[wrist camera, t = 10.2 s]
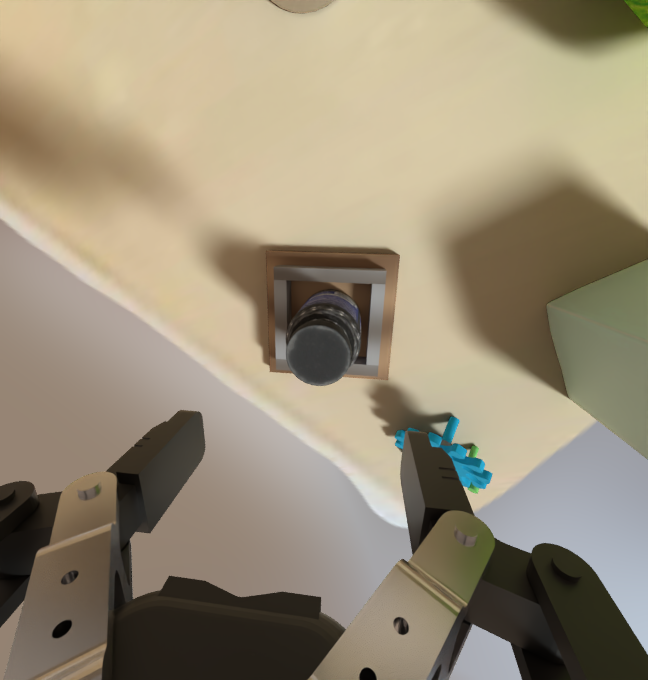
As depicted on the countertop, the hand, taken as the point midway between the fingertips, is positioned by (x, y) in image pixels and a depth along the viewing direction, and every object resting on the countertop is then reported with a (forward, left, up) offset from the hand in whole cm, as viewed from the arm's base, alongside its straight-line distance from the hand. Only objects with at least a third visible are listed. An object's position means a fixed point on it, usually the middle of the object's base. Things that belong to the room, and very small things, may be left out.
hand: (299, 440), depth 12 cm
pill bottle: (+1, -1, -22) cm, 22 cm away
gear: (+15, +12, -23) cm, 30 cm away
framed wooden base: (+1, -1, -23) cm, 23 cm away
